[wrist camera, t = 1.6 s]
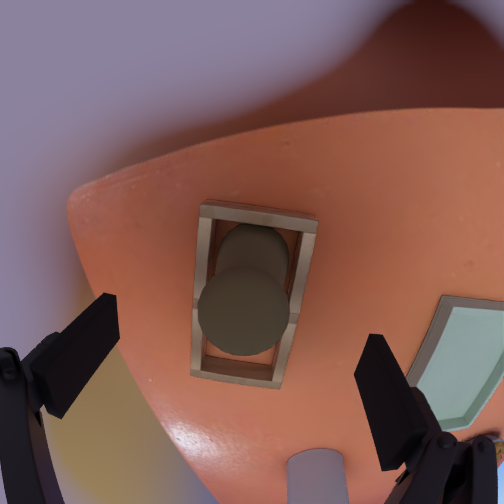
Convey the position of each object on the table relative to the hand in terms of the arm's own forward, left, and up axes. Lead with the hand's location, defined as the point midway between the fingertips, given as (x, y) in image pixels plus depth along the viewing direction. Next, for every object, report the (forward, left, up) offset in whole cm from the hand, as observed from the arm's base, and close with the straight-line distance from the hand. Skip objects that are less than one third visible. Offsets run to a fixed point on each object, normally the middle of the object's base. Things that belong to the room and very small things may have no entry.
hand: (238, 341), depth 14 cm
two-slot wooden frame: (+4, 0, -12) cm, 12 cm away
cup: (+30, +13, -12) cm, 35 cm away
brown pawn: (0, 0, -12) cm, 12 cm away
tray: (+11, +27, -12) cm, 31 cm away
